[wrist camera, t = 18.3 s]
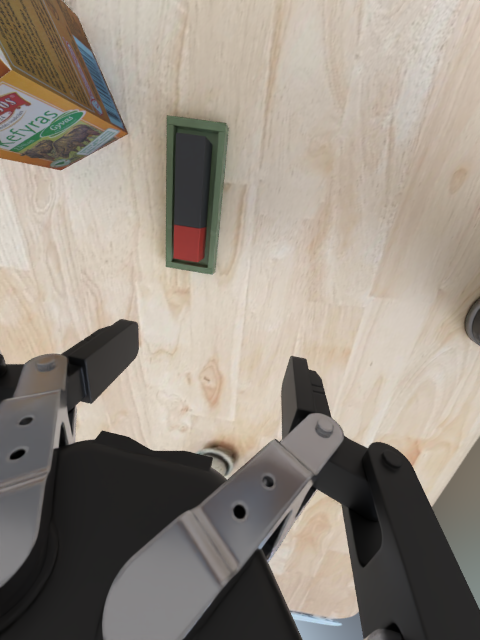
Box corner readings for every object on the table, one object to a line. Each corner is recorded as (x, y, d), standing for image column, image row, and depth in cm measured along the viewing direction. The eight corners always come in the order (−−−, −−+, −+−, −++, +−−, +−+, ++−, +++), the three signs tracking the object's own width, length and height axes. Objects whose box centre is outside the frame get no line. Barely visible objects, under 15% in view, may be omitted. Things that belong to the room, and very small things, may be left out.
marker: (185, 140, 28) (175, 132, 25) (212, 144, 28) (205, 136, 25) (181, 254, 33) (173, 258, 30) (204, 258, 33) (197, 262, 30)
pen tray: (172, 120, 27) (166, 115, 26) (228, 127, 27) (226, 123, 26) (170, 264, 34) (165, 266, 33) (215, 272, 34) (212, 274, 33)
